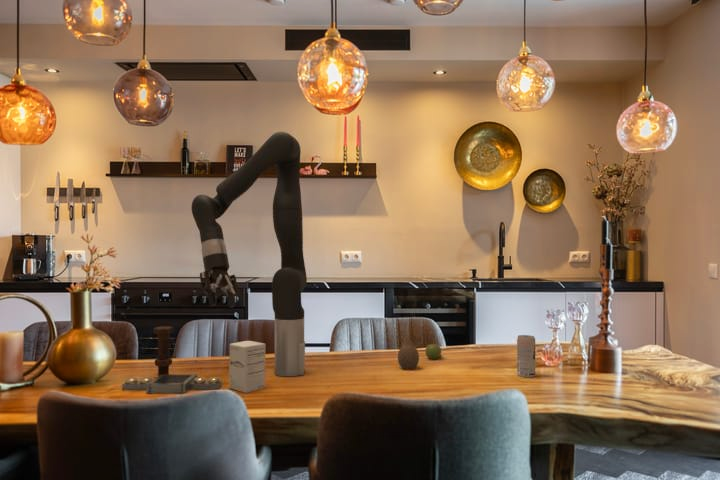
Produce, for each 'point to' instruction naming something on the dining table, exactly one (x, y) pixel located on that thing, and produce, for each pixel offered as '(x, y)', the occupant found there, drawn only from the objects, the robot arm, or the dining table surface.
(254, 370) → the supplement box
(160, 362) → the bolt
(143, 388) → the chain end
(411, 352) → the vase
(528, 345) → the energy drink
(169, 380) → the chain end
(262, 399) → the dining table surface
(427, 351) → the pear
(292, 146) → the robot arm
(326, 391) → the dining table surface
